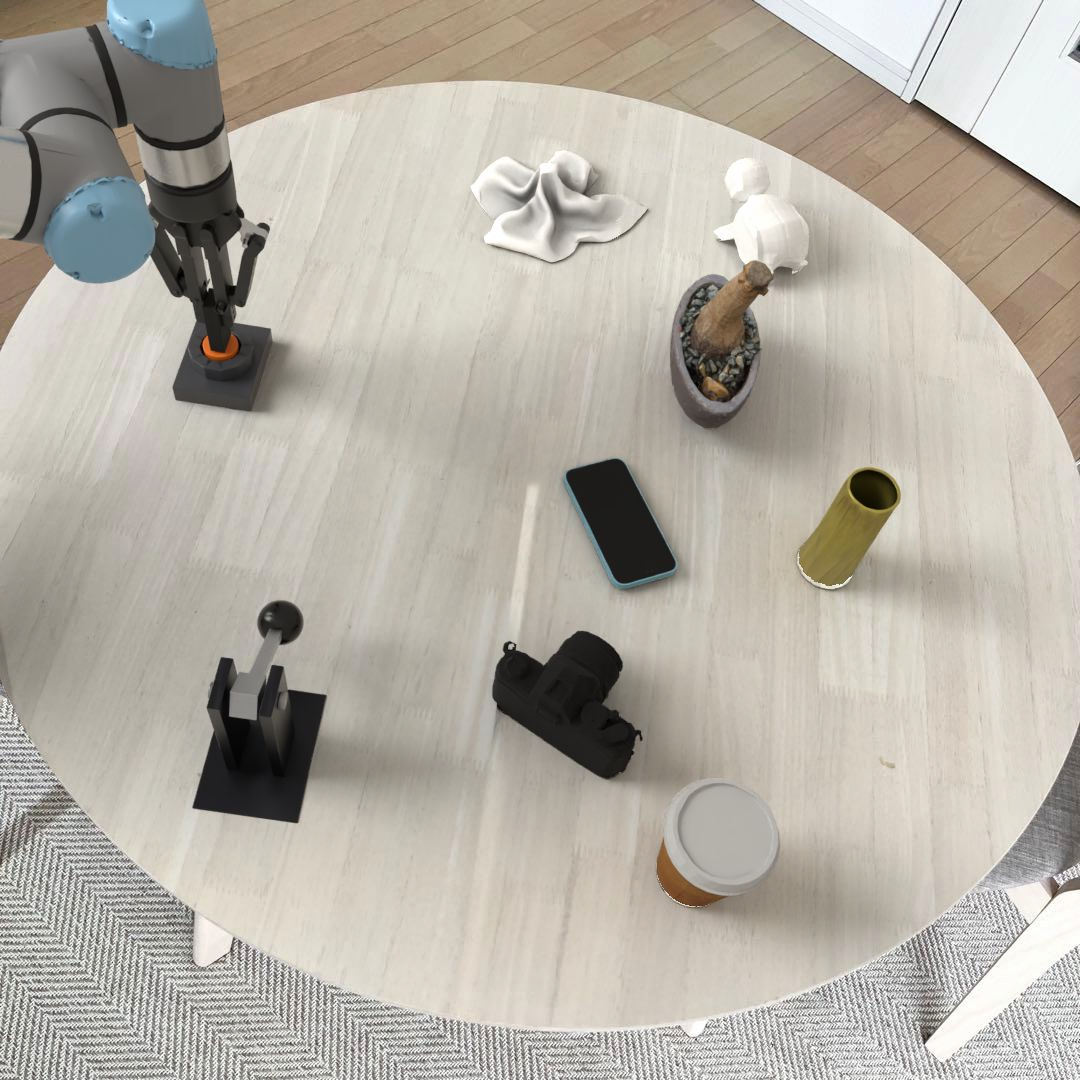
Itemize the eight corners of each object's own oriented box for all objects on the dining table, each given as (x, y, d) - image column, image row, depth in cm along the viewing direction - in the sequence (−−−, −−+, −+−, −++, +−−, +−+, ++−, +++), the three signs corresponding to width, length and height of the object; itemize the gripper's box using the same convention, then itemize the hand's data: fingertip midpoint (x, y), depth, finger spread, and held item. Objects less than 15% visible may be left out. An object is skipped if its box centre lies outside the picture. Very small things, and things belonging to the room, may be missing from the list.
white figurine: (794, 281, 144) (751, 174, 145) (827, 252, 136) (782, 140, 137) (737, 297, 141) (694, 188, 143) (767, 268, 133) (722, 153, 135)
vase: (783, 560, 118) (829, 483, 106) (821, 530, 121) (870, 452, 109) (827, 601, 116) (879, 527, 104) (864, 569, 119) (919, 494, 107)
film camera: (664, 714, 107) (685, 674, 100) (610, 793, 103) (628, 758, 95) (533, 626, 111) (544, 581, 103) (474, 699, 106) (482, 658, 98)
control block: (175, 400, 120) (169, 376, 116) (200, 330, 125) (195, 304, 121) (250, 412, 120) (247, 388, 116) (272, 341, 125) (269, 316, 122)
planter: (697, 468, 123) (747, 346, 106) (603, 365, 129) (637, 234, 112) (794, 412, 129) (856, 288, 112) (701, 316, 135) (746, 185, 118)
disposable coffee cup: (631, 915, 97) (661, 878, 87) (643, 809, 102) (672, 762, 92) (740, 936, 97) (782, 902, 87) (746, 829, 102) (787, 784, 92)
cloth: (497, 273, 135) (501, 235, 129) (449, 169, 143) (451, 128, 138) (666, 242, 141) (677, 204, 135) (610, 144, 149) (619, 104, 144)
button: (200, 364, 119) (198, 354, 118) (209, 339, 121) (207, 328, 120) (235, 370, 119) (233, 359, 118) (243, 344, 121) (241, 333, 120)
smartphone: (622, 455, 122) (681, 569, 114) (620, 461, 122) (679, 574, 115) (560, 471, 119) (617, 588, 112) (559, 477, 120) (615, 593, 113)
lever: (262, 626, 102) (264, 588, 100) (306, 632, 102) (309, 595, 100) (217, 722, 89) (218, 681, 87) (267, 730, 89) (269, 689, 88)
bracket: (229, 686, 104) (208, 610, 91) (326, 700, 104) (319, 627, 92) (193, 812, 97) (166, 750, 85) (298, 827, 98) (285, 767, 85)
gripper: (271, 145, 101) (290, 325, 121) (125, 121, 100) (168, 305, 120) (251, 203, 97) (274, 379, 117) (98, 178, 96) (148, 359, 116)
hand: (220, 341), depth 119 cm, fingers closed
